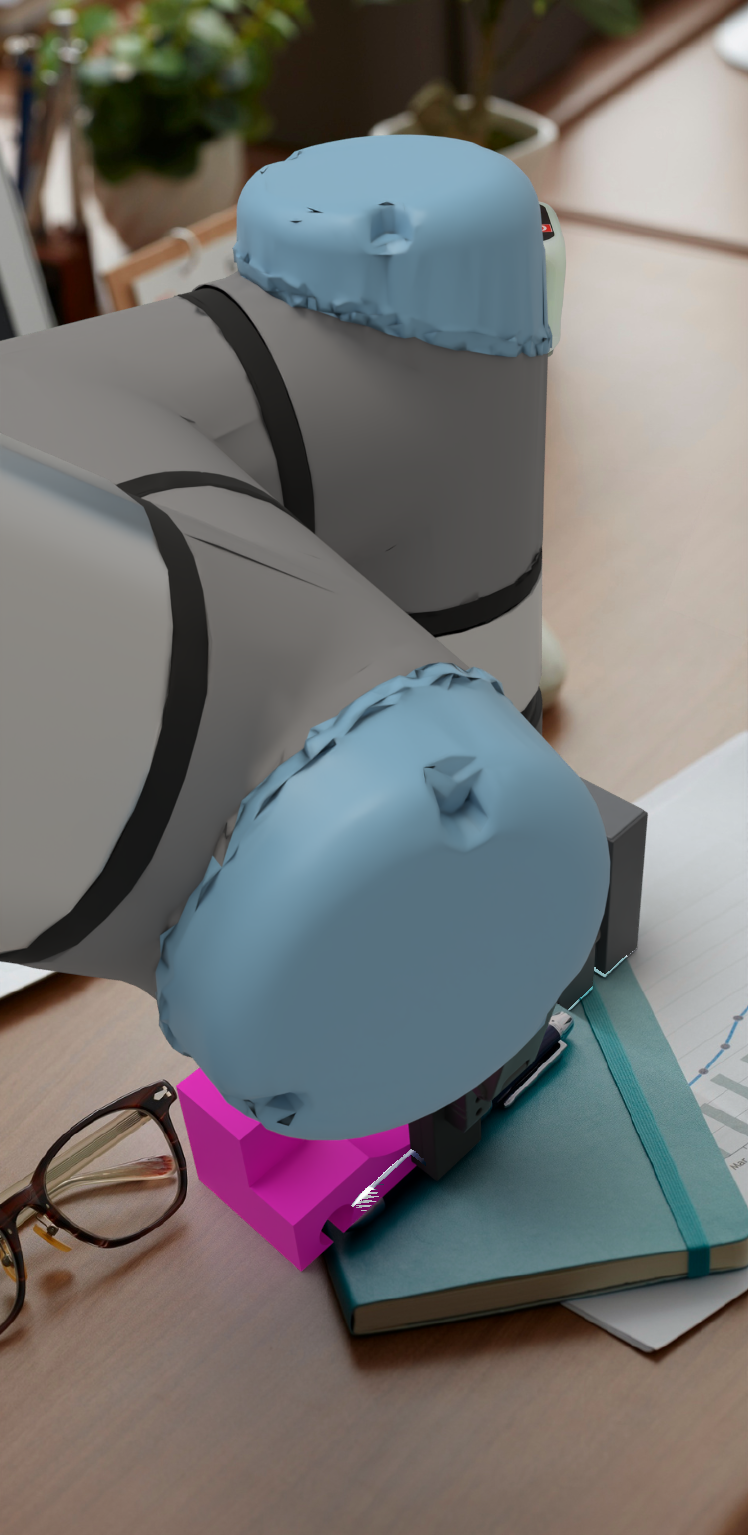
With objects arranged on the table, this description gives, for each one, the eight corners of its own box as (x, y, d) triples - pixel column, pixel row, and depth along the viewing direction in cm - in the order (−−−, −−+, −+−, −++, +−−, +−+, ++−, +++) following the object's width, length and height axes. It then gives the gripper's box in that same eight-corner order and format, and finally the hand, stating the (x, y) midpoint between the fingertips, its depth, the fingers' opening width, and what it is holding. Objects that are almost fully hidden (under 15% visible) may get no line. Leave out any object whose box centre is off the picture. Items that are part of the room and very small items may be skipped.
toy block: (304, 1290, 56) (284, 1179, 51) (203, 1198, 60) (175, 1086, 55) (546, 1064, 64) (548, 949, 59) (444, 994, 67) (438, 880, 63)
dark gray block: (605, 980, 67) (613, 840, 62) (475, 901, 72) (472, 764, 66) (637, 949, 69) (648, 810, 63) (508, 874, 73) (507, 737, 68)
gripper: (668, 711, 42) (630, 1183, 57) (356, 567, 49) (396, 1017, 64) (500, 843, 38) (507, 1312, 53) (190, 664, 45) (273, 1119, 60)
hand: (446, 1150), depth 58 cm, fingers closed
